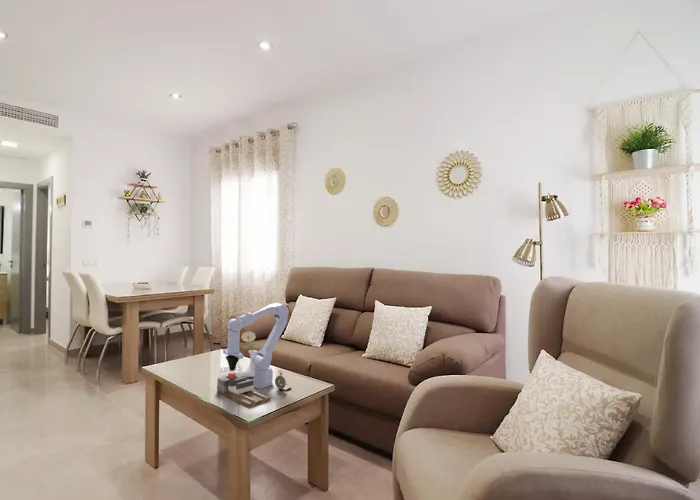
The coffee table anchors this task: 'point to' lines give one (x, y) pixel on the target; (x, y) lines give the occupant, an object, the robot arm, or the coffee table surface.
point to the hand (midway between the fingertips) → (232, 370)
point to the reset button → (231, 375)
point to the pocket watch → (280, 381)
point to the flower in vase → (248, 338)
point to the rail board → (243, 398)
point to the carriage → (240, 385)
